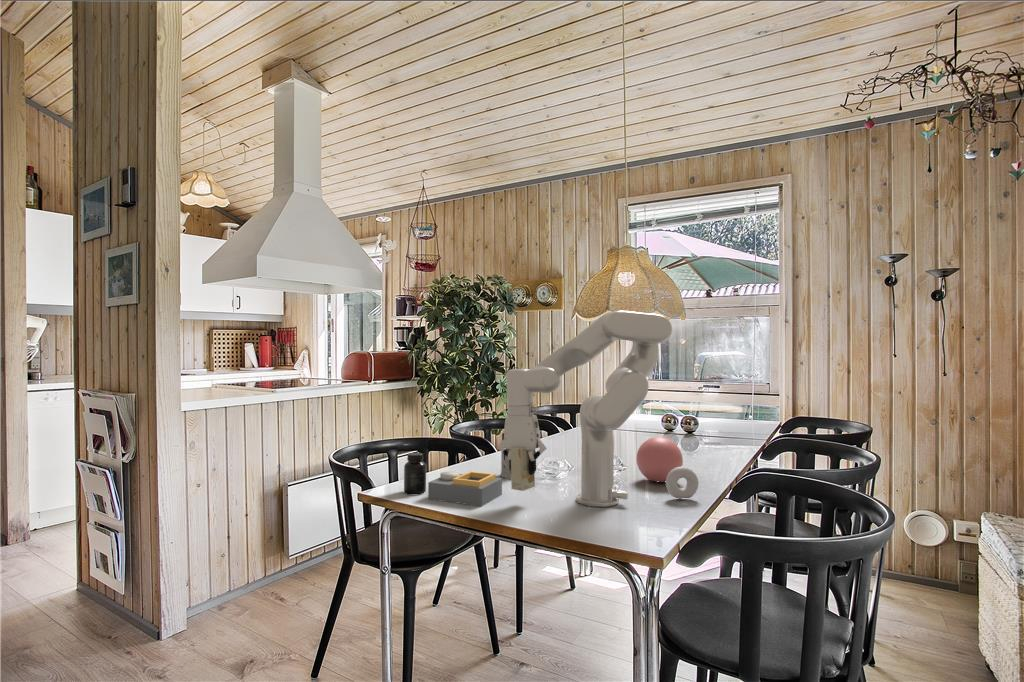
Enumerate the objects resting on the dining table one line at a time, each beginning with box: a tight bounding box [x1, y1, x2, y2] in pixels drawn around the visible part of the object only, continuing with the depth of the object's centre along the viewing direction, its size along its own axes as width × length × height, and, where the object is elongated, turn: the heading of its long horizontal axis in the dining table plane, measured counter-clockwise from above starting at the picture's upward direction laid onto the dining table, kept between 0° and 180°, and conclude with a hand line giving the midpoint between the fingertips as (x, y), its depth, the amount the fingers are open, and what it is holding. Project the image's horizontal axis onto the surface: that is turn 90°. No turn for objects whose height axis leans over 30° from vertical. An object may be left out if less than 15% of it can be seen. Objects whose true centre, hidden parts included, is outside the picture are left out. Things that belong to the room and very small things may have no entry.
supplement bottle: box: [403, 452, 427, 495], centre depth 171 cm, size 7×7×12 cm
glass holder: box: [499, 432, 511, 479], centre depth 192 cm, size 9×14×15 cm, turn 159°
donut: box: [665, 465, 699, 499], centre depth 165 cm, size 10×4×10 cm, turn 94°
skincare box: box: [510, 447, 536, 492], centre depth 158 cm, size 6×4×12 cm
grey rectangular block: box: [427, 470, 503, 507], centre depth 166 cm, size 18×14×6 cm
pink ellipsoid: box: [636, 436, 684, 483], centre depth 189 cm, size 15×20×15 cm
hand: (522, 472), depth 158 cm, fingers closed on skincare box, 5 cm apart
